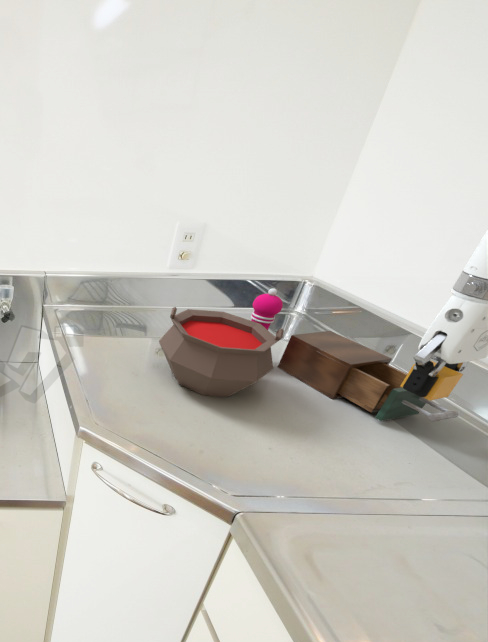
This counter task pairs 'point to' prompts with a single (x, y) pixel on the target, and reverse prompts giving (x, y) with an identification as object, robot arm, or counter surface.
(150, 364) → the counter surface
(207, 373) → the brown cooking pot
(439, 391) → the block
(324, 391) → the cabinet
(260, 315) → the pepper mill
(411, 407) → the drawer
